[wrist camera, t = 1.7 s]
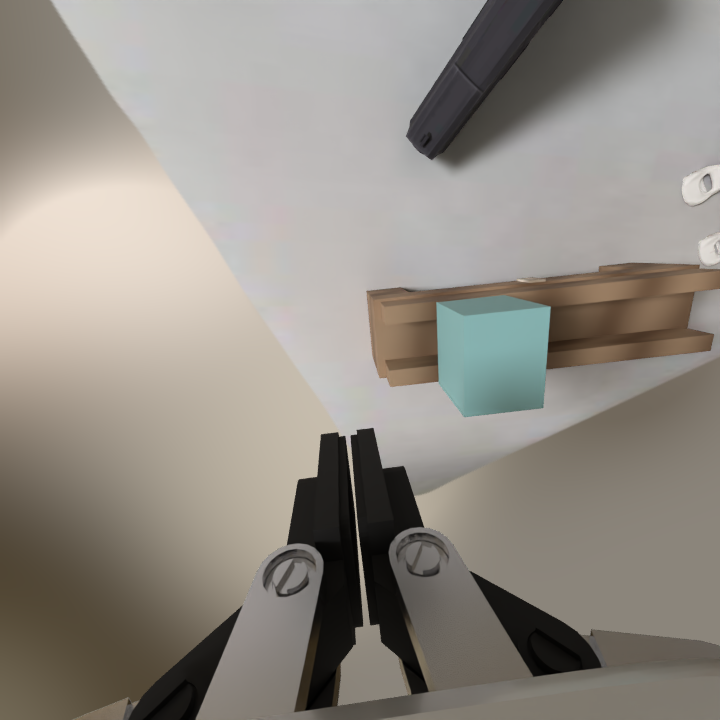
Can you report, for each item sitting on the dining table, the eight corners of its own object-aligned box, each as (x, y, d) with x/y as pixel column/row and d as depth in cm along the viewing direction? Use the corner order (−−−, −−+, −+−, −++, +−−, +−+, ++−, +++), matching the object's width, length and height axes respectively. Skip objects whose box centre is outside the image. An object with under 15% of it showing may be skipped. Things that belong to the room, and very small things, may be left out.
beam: (632, 261, 30) (737, 263, 22) (622, 329, 32) (716, 354, 24) (366, 289, 30) (376, 302, 22) (372, 357, 32) (383, 392, 24)
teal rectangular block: (488, 290, 24) (550, 306, 17) (486, 365, 26) (543, 408, 19) (426, 297, 24) (463, 316, 17) (429, 371, 26) (464, 417, 18)
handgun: (644, -120, 21) (720, -193, 13) (453, 130, 32) (432, 170, 24) (608, -172, 20) (666, -284, 12) (426, 103, 31) (396, 137, 24)
